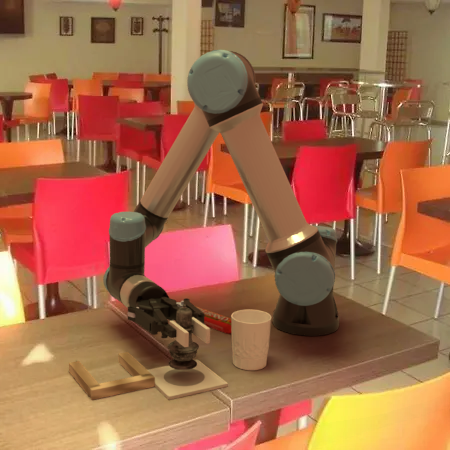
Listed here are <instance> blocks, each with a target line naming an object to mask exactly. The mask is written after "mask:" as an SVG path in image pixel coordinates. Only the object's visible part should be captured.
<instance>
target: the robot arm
mask: <svg viewBox="0 0 450 450" xmlns="http://www.w3.org/2000/svg"><path fill="white" fill-rule="evenodd" d="M186 79H187V81H186V82H187V85H186V86H187V91H188V94H189V96H190V98H191V100H192V101H193V104H194V107H193V109H192V111H191V112H190V115H189V116H188V118H187V120H185V121H186V122H185V123H184V124H183V126H182V127H181V129H180V131H179V133H178V134H177V136H176V138H175V140H174V142H173V143H172V145H171V147H170V148H169V151H167V154H166V155H165V157H164V159H163V160H162V162H161V164H160V166H159V168H158V169H157V171H156V172H155V175H154V176H153V178H152V179H151V181H150V183H149V185H148V186H147V188H146V190H145V192H144V193H143V195H142V197H141V199H140V200H139V202H138V204H137V205H136V207H135V209H134V211H119V212H115V213H113V214H112V215H111V216H110V218H109V228H108V235H109V263H108V264H109V266H108V267H107V268H106V270H105V272H104V274H103V277H102V278H103V279H102V280H103V285H104V288H105V289H106V292H108V293H109V294H110V295H111V297H112V298H114V299H115V300H117V301H119V302H120V303H121V304H122V305H123V306H124V307H125V308H127V320H128V321H130V322H133V323H135V324H137V325H138V326H139V327H141V328H143V329H144V330H145V331H146V332H148V333H149V334H151V335H154V336H155V335H158V334H159V333H160V334H161V338H162V339H168V338H170V339H174V340H176V341H177V342H179V343H180V344H181V345H182V346H184V347H188V346H189V332H188V331H186V330H185V329H184V328H182V327H181V326H180V325H178V324H177V323H176V312H177V310H178V309H179V308H181V307H183V304H184V303H185V304H186V307H187V308H189V309H191V311H192V325H193V326H194V328H193V329H192V335H194V336H195V337H197V338H198V339H199V340H200V341H202V342H203V343H205V344H210V342H211V328H210V327H207V326H206V324H205V323H204V317H205V314H204V313H203V312H202V311H201V310H199V309H198V308H197V307H198V306H196V305H194V304H193V303H192V302H191V300H190V298H188V297H187V298H183V300H181V301H180V302H179V301H178V302H177V300H175V299H174V298H171V297H169V294H168V293H167V291H166V290H165V289H164V288H163V287H161V286H160V285H159V284H157V283H156V282H155V281H153V280H152V279H150V278H148V277H147V276H146V275H145V267H146V262H145V260H146V258H145V257H146V255H145V254H146V248H147V247H148V246H149V245H150V244H151V243H152V242H153V241H155V240H157V238H159V236H160V235H161V233H162V232H163V230H164V228H165V224H166V222H167V220H168V219H169V217H170V215H171V213H172V212H173V210H174V208H175V207H176V205H177V204H178V202H179V201H180V198H181V197H182V195H183V193H184V192H185V190H186V188H187V187H188V186H189V184H190V182H191V181H192V179H193V177H194V175H196V174H195V173H196V172H197V171H198V170H199V167H200V166H201V164H202V162H203V161H204V159H205V157H206V156H207V154H208V153H209V151H210V149H211V147H212V146H213V144H214V142H215V140H216V139H217V137H218V136H219V134H220V135H221V138H222V139H223V142H224V145H225V146H226V148H227V151H228V152H229V155H230V157H231V159H232V161H233V164H234V166H235V169H236V170H237V173H238V175H239V177H240V180H241V183H242V184H243V186H244V189H245V190H246V193H247V195H248V197H249V200H250V201H251V204H252V206H253V209H254V211H255V213H256V215H257V217H258V219H259V222H260V225H261V227H262V228H263V231H264V233H265V236H266V238H267V239H268V240H267V241H268V242H267V244H266V247H265V253H266V255H267V258H268V260H269V262H270V264H271V267H272V269H273V271H274V282H275V286H276V289H277V291H278V293H279V297H278V299H277V301H276V305H275V308H274V310H273V313H272V325H273V326H274V327H276V328H277V329H278V330H280V331H283V332H284V333H288V334H293V335H297V336H306V337H308V336H311V337H313V336H314V337H315V336H317V337H318V336H325V335H329V334H332V333H334V332H336V331H337V330H339V326H340V315H339V311H338V307H337V304H336V300H335V296H334V286H335V281H336V271H335V270H336V269H335V267H336V255H337V253H336V252H337V243H338V239H337V231H336V229H334V228H333V227H330V226H329V227H328V226H322V225H314V224H313V225H312V224H309V223H308V222H307V220H306V218H305V216H304V214H303V211H302V209H301V206H300V203H299V202H298V200H297V197H296V195H295V192H294V190H293V188H292V186H291V184H290V181H289V179H288V177H287V175H286V172H285V170H284V168H283V165H282V164H281V160H280V158H279V156H278V154H277V152H276V149H275V147H274V145H273V142H272V141H271V137H270V135H269V134H268V131H267V129H266V127H265V124H264V122H263V120H262V117H261V111H262V108H263V106H264V102H263V101H262V98H261V96H260V94H259V92H258V89H257V87H256V73H255V70H254V67H253V66H252V64H251V62H250V61H249V60H248V59H247V57H245V56H244V55H242V54H241V53H239V52H237V51H232V50H227V49H213V50H210V51H208V52H206V53H204V54H202V55H201V56H199V57H198V58H197V59H196V60H195V61H194V62H193V63H192V65H191V67H190V69H189V71H188V75H187V78H186ZM195 306H196V307H195Z"/></svg>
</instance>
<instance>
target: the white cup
mask: <svg viewBox="0 0 450 450" xmlns="http://www.w3.org/2000/svg"><path fill="white" fill-rule="evenodd" d="M230 318H231V333H230V335H231V350H232V364H233V365H234V367H235V368H238V369H241V370H244V371H245V370H246V371H257V370H262V369H263V368H265V367H267V363H268V362H267V361H268V353H269V348H270V339H271V338H270V337H271V329H272V319H273V316H272V315H271V314H270V313H269V312H266V311H264V310H261V309H251V308H250V309H249V308H248V309H240V310H237V311H236V310H235V311H234V312H232V313H231V315H230Z"/></svg>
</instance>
